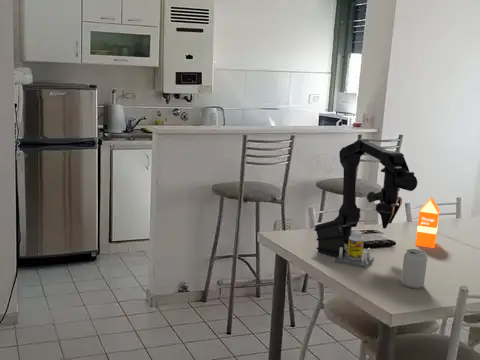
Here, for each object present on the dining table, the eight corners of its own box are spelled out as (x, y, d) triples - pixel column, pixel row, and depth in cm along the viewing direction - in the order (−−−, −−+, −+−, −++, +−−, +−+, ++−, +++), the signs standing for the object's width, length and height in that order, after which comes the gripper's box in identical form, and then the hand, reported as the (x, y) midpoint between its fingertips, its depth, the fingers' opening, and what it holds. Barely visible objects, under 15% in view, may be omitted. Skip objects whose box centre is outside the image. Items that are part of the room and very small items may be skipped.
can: (397, 281, 204) (401, 247, 202) (418, 281, 204) (422, 248, 202) (405, 289, 196) (409, 254, 194) (427, 289, 197) (431, 255, 195)
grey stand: (343, 253, 231) (344, 241, 230) (373, 259, 226) (374, 247, 225) (333, 262, 220) (335, 249, 219) (365, 268, 215) (367, 255, 214)
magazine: (345, 258, 221) (335, 219, 223) (320, 264, 231) (310, 227, 233) (351, 256, 224) (341, 218, 226) (326, 262, 233) (316, 225, 235)
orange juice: (415, 245, 248) (420, 198, 245) (417, 240, 256) (422, 195, 253) (434, 248, 246) (440, 201, 242) (436, 242, 254) (441, 197, 250)
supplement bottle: (345, 259, 221) (348, 232, 219) (348, 255, 226) (350, 229, 224) (361, 261, 219) (363, 234, 218) (362, 257, 225) (365, 231, 223)
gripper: (375, 179, 234) (371, 217, 237) (363, 186, 218) (360, 227, 221) (404, 183, 230) (400, 221, 233) (394, 190, 213) (390, 232, 216)
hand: (387, 225), depth 226 cm, fingers open, 9 cm apart
